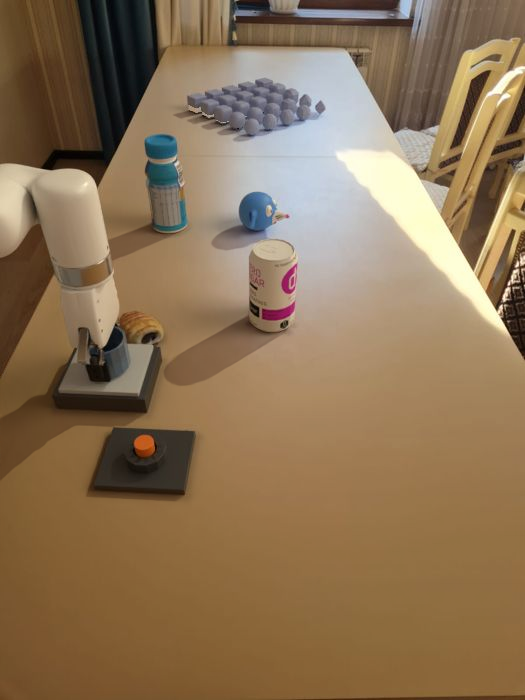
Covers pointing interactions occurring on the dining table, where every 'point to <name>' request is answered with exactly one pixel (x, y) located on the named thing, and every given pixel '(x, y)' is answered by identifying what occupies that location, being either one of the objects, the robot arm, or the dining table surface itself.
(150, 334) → the pastry
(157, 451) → the block
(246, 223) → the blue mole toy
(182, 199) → the beverage bottle
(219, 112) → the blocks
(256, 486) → the dining table surface
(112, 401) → the scale
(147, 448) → the button
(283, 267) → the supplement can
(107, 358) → the bowl
